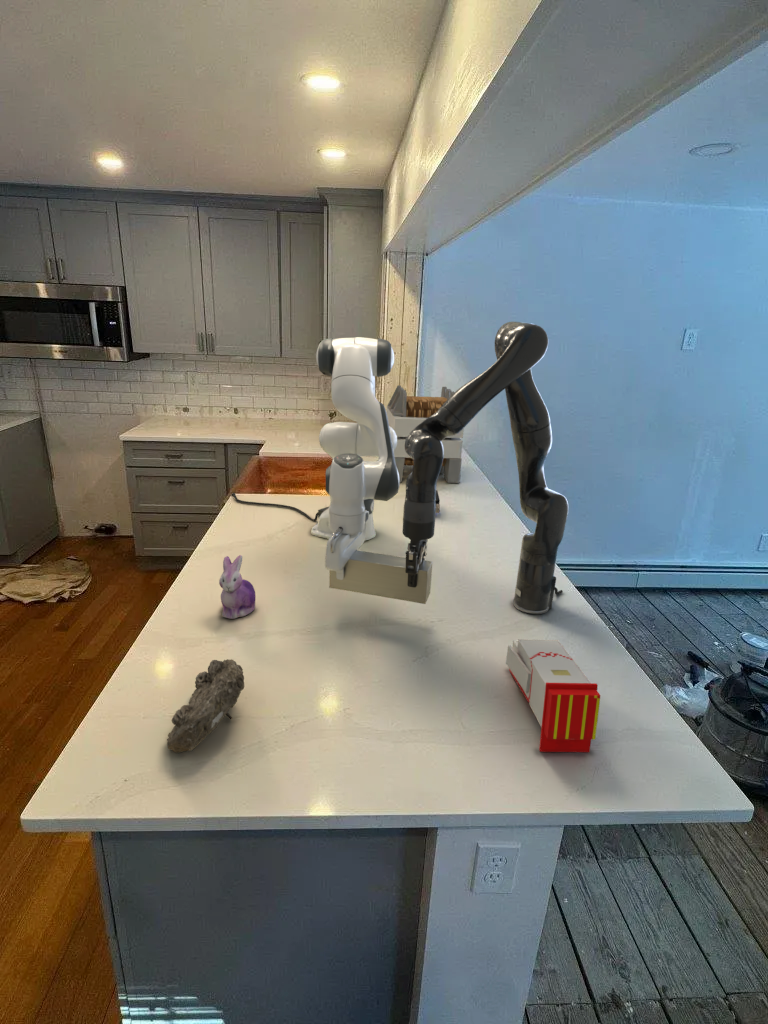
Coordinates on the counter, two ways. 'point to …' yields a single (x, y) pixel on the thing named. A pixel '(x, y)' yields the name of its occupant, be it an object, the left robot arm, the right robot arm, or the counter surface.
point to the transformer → (410, 414)
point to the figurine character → (437, 503)
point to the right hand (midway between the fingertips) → (415, 580)
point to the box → (383, 577)
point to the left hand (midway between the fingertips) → (345, 572)
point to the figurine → (235, 590)
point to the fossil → (206, 705)
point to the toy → (556, 694)
